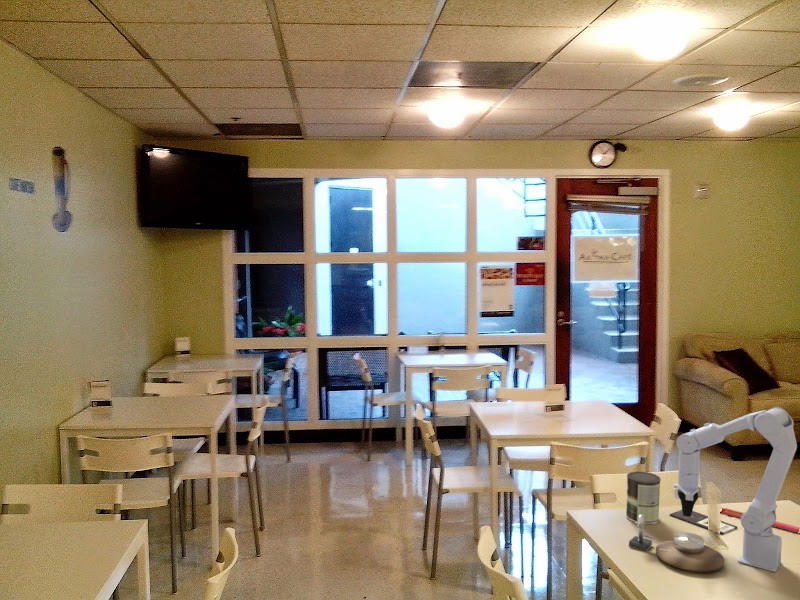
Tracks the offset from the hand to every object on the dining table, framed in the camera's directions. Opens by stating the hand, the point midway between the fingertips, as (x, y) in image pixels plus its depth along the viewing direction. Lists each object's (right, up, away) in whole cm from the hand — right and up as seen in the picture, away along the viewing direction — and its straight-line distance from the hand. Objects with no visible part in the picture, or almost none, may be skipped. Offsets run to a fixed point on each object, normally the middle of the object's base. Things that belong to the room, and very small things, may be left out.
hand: (686, 515), depth 206 cm
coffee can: (-8, -6, +16) cm, 19 cm away
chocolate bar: (+11, -7, +13) cm, 19 cm away
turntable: (-5, -8, -14) cm, 17 cm away
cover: (-4, -6, -10) cm, 12 cm away
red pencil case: (+29, -7, +14) cm, 33 cm away
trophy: (-16, -8, -5) cm, 18 cm away
